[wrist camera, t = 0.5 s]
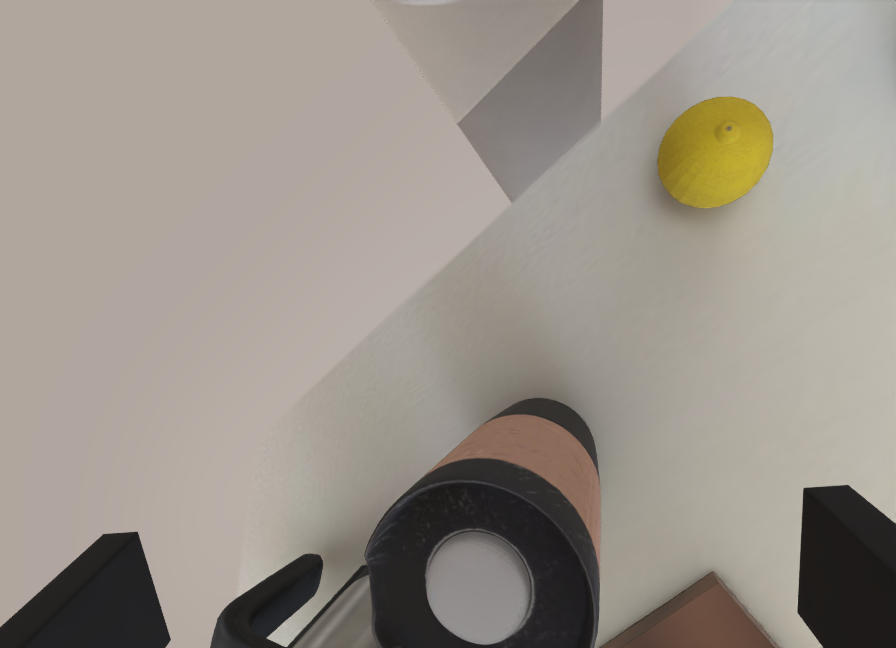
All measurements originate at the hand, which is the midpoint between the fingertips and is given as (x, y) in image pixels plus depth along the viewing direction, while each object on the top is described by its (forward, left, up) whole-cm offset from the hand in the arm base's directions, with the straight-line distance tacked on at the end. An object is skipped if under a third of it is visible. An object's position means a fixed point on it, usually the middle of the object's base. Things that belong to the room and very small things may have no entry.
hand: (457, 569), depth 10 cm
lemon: (-16, -5, -26) cm, 31 cm away
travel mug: (+3, +2, -26) cm, 26 cm away
